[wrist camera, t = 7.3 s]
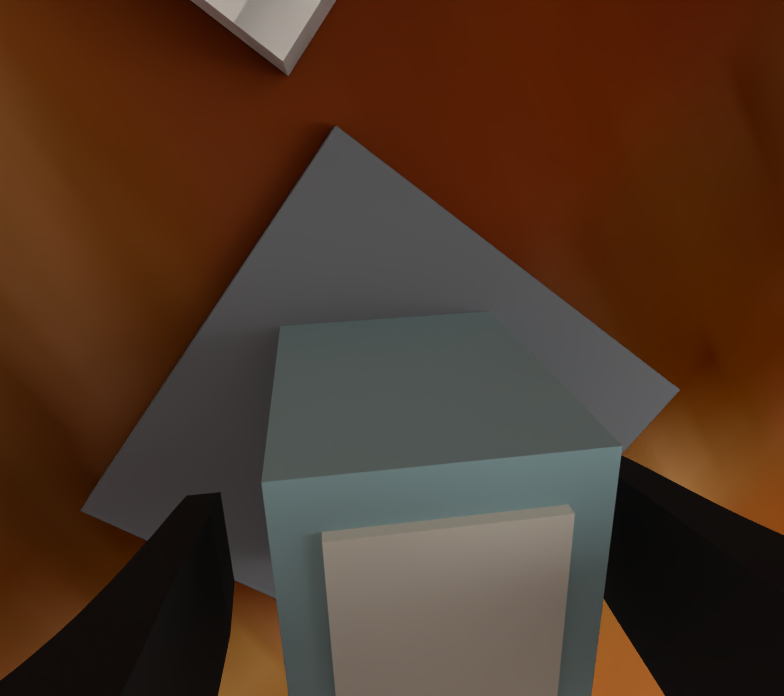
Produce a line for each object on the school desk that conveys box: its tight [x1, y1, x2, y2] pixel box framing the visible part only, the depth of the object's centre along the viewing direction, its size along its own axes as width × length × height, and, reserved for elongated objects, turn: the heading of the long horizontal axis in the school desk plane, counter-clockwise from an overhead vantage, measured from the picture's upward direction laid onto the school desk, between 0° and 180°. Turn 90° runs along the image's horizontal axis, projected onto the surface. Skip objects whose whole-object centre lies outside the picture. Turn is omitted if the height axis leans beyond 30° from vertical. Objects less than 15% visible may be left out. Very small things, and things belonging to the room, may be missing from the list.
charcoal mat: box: [81, 126, 679, 599], centre depth 14 cm, size 10×10×1 cm
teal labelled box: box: [261, 311, 622, 696], centre depth 11 cm, size 4×6×6 cm
